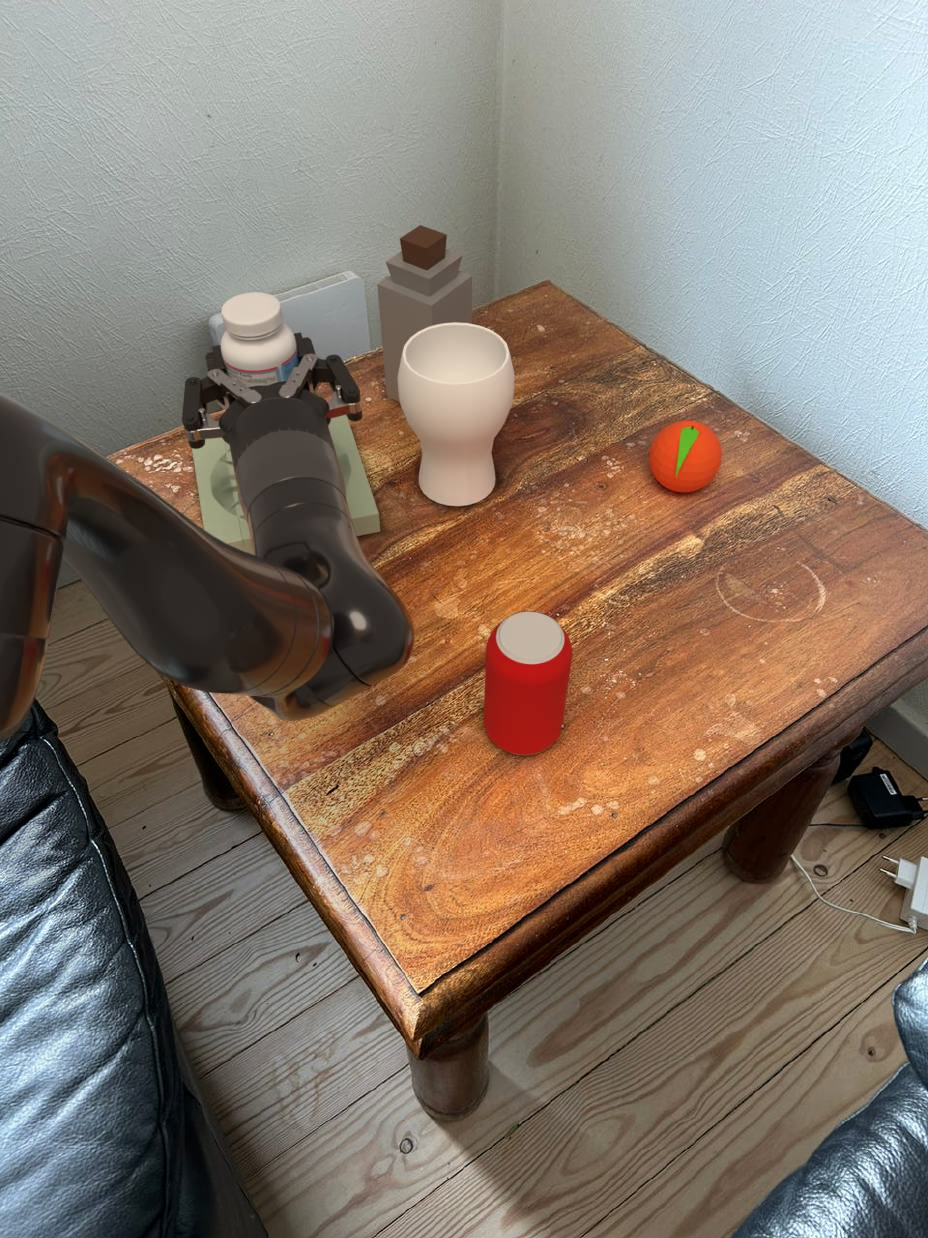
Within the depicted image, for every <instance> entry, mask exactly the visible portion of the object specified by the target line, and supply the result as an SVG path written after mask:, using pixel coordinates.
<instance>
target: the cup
mask: <svg viewBox="0 0 928 1238" xmlns="http://www.w3.org/2000/svg"><path fill="white" fill-rule="evenodd" d="M397 379H398V393H399V400H400V402H399V405H400V408H401V409H402V413H403V414H404V417H405V419H406V421H407V424H408V426H409V427H410V428H411V430H412V431H413V432H414V434H415V435H416V437H417V438H418V440H419V444H420V449H421V460H420V465H419V470H418V471H419V473H418V485H419V488H420V490H421V491H422V493H423V494H424V495H425V496H426V497H427V498H428V499H429V500H431V501H433V502H435V503H437V504H440V505H445V506H450V507H464V506H465V507H466V506H469V505H470V506H471V505H473V504H477V503H479V502H481V501H482V500H485V499H486V498H487V497H488V496H489V495H490V494H491V493H492V491H493V490H494V488H495V486H496V471H495V465H494V459H493V454H492V451H493V445H494V441H495V438H496V436H497V435H498V434H499V432H500V431H501V430H502V428H503V427H504V424H505V423H506V421H507V418H508V416H509V413H510V411H511V409H512V406H513V403H514V393H515V379H516V377H515V371H514V366H513V362H512V356H511V352H510V348H509V346H508V344H507V342H506V341H505V340H504V338H503V337H502V336H500V335H499V334H498V333H497V332H495V331H493V329H489V328H487V327H484V326H482V325H478V324H474V323H472V324H470V323H456V322H454V323H443V324H438V325H434V326H430V327H427V328H425V329H423V330H421V331H419V332H417V333H416V334H414V335H413V336H412V337H410V339H409V340H408V341H407V343H406V344H405V345H404V348H403V352H402V357H401V362H400V367H399V372H398V377H397Z"/></svg>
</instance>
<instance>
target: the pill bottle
mask: <svg viewBox="0 0 928 1238" xmlns="http://www.w3.org/2000/svg"><path fill="white" fill-rule="evenodd" d="M282 310H283V309H282V306H281V302H280V301H279V299H278V298H277V297H276V296H274V295H272V294H271V293H269V294H268V293H266V292H262V291H261V292H260V291H259V292H258V291H253V292H251V291H250V292H244V293H240V294H237V295H235V296H233V297H230V298H229V299H228V300H226V301H225V302H224V303H223V305H222V307H221V311H220V312H221V318H222V323H223V327H224V329H225V331H224V333H223V335H222V337H221V340H220V345H221V352H222V357H223V361H224V365H225V369H226V373H227V375H228V376H229V377H230V378H232V377H236V378H237V379H238V380H240V381H241V382H242V383H243V384H245V385H246V386H247V387H252V386H264V385H270V384H273V383H277V382H282V381H287V379H288V378H289V376H290V374H291V372H292V370H293V368H294V367H298V366H299V364H300V362H299V357H298V351H297V345H296V340H295V336H294V334H293V333H294V332H293V330H292V329H291V328H290V327H289V326H288V325H287V324H286V323H284V321H283V320H284V315H283V311H282Z"/></svg>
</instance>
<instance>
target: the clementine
mask: <svg viewBox="0 0 928 1238" xmlns="http://www.w3.org/2000/svg"><path fill="white" fill-rule="evenodd" d="M722 455H723V449H722V445H721V443H720V440H719V438H718V436H717V435H716V434H715V433H714V431H713V430H712V429H711V428H710V427H709V426H708V425H705V424H703V423H701V422H698V421H696V420H695V421H694V420H679V421H675V422H673V423H670V424H669V425H667V426H665V427H664V428H663V429H661V430H660V431H659V432H658V434H657V435H656V436H655V438H654V439H653V441H652V442H651V446H650V450H649V455H648V456H649V457H648V461H649V462H648V463H649V467H650V470H651V473H652V474H653V475H652V476H654V478H655V479H656V480H657V481H658V482H659V483H660V485H662V486H663V487H664V488H666V489H668V490H670V491H673V492H675V493H676V492H678V493H691V492H695V491H697V490H701V489H702V488H704V487H706V486H708V484H709V483H711V482H712V480H714V479H715V477H716V476H717V474H718V472H719V470H720V467H721V465H722V459H723V457H722Z"/></svg>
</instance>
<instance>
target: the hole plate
mask: <svg viewBox="0 0 928 1238" xmlns="http://www.w3.org/2000/svg"><path fill="white" fill-rule="evenodd" d="M328 428H329V431H330V434H331V438H332V441H333V444H334V448H335V451H336V454H337V458H338V461H339V465H340V468H341V471H342V475H343V478H344V482H345V488H346V499H347V505H348V509H349V512H350V516H351V519H352V522H353V526H354V529H355V532H356V535H357V537H361V536H366V535H370V534H375V533H380V532H381V521H380V513H379V509H378V506H377V503H376V501H375V498H374V494H373V491H372V488H371V485H370V482H369V479H368V476H367V473H366V469H365V467H364V464H363V461H362V456H361V454H360V451H359V449H358V445H357V442H356V439H355V436H354V433H353V429H352V427H351V424H350V420H349V419H348V417H347V416H346V415H343V416H339V417H335V418H331V422H330V424H329V426H328ZM191 452H192V458H193V465H194V471H195V479H196V484H197V486H196V487H197V492H198V499H199V505H200V512H201V518H202V525H203V529H204V530H205V531H207V532H208V533H210V534H211V535H213V536H214V537H216V538H218V539H220V540H222V541H223V542H225V543H227V544H229V545H231V546H233V547H235V548H237V549H239V550H242V551H245V552H247V553H250V554H253V550H252V545H251V540H250V534H249V529H248V524H247V521H246V518H245V516H244V513H243V511H242V508H241V504H240V500H239V498H238V489H237V483H236V477H235V473H234V467H233V462H232V456H231V451H230V445H229V444H228V443H226V442H225V441H224V440H223V438H212V439H205V445H204V446H203V447H202V448H199V449H193V448H191Z"/></svg>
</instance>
